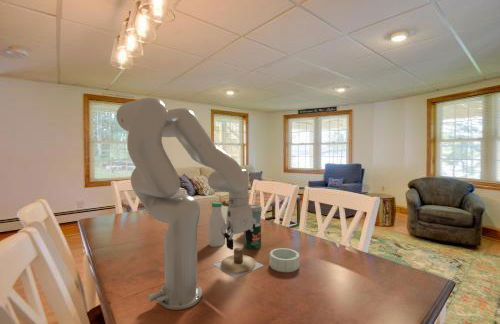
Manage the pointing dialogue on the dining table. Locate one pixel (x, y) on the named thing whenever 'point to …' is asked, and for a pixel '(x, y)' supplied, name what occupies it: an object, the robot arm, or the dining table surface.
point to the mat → (257, 265)
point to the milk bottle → (216, 225)
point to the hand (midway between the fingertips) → (239, 244)
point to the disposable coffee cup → (256, 212)
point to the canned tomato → (254, 238)
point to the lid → (238, 262)
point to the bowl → (284, 260)
